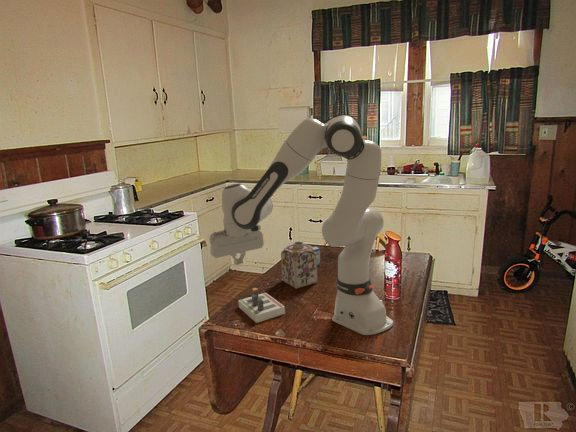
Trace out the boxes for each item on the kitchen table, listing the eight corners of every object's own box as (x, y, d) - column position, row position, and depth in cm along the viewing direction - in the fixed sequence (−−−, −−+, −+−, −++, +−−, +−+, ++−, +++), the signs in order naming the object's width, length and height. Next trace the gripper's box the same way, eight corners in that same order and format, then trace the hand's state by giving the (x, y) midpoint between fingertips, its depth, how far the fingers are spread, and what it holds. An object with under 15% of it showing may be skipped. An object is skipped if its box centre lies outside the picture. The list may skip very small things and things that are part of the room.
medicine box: (306, 268, 200) (305, 251, 198) (301, 265, 204) (301, 248, 202) (320, 265, 204) (320, 248, 201) (315, 262, 207) (315, 245, 205)
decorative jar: (303, 274, 193) (301, 237, 189) (318, 282, 184) (317, 243, 179) (281, 280, 187) (279, 242, 183) (295, 289, 178) (294, 249, 173)
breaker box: (284, 313, 157) (284, 297, 155) (256, 323, 151) (255, 305, 150) (266, 299, 170) (265, 283, 168) (239, 307, 164) (237, 291, 162)
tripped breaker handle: (258, 298, 163) (257, 289, 162) (254, 299, 162) (254, 290, 161) (256, 297, 164) (255, 287, 163) (252, 298, 164) (252, 288, 163)
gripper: (212, 235, 145) (215, 272, 149) (264, 225, 155) (266, 260, 159) (205, 231, 151) (209, 267, 154) (256, 221, 161) (258, 255, 164)
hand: (238, 263), depth 156 cm, fingers closed
